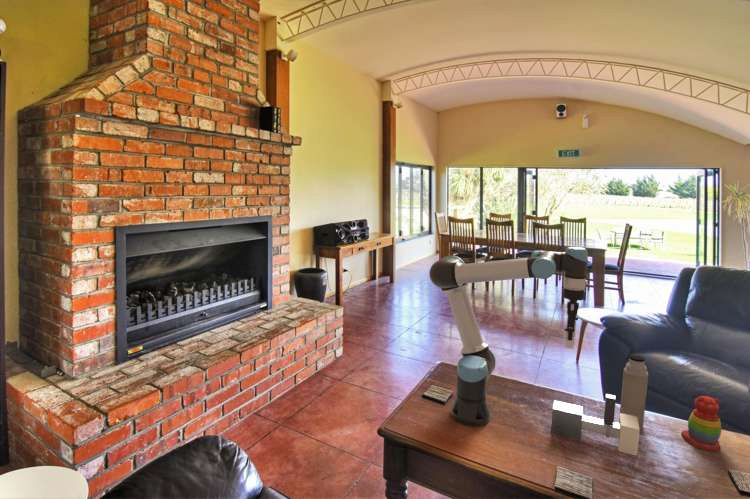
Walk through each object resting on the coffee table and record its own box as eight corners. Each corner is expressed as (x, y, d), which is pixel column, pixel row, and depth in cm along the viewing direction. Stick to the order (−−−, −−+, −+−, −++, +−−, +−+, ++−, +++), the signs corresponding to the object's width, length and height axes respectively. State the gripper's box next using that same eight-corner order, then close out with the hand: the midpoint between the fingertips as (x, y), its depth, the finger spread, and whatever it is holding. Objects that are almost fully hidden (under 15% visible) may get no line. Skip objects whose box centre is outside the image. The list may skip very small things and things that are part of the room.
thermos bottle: (637, 420, 164) (644, 353, 160) (646, 432, 156) (653, 362, 152) (615, 418, 166) (621, 352, 161) (623, 430, 158) (629, 360, 154)
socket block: (618, 451, 145) (620, 425, 144) (617, 437, 153) (619, 412, 152) (636, 455, 143) (639, 429, 141) (634, 441, 151) (637, 416, 149)
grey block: (551, 432, 156) (552, 408, 155) (552, 423, 162) (554, 400, 161) (580, 440, 152) (582, 415, 150) (581, 430, 158) (582, 406, 156)
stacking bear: (713, 437, 153) (719, 392, 150) (726, 454, 144) (733, 406, 141) (679, 432, 156) (684, 388, 154) (689, 448, 147) (695, 401, 144)
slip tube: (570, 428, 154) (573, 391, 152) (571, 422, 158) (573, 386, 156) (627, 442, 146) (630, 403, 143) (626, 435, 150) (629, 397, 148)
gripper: (584, 297, 144) (580, 355, 147) (585, 282, 166) (582, 333, 169) (560, 294, 147) (557, 351, 150) (565, 280, 169) (561, 330, 172)
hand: (570, 341), depth 160 cm, fingers open, 13 cm apart
